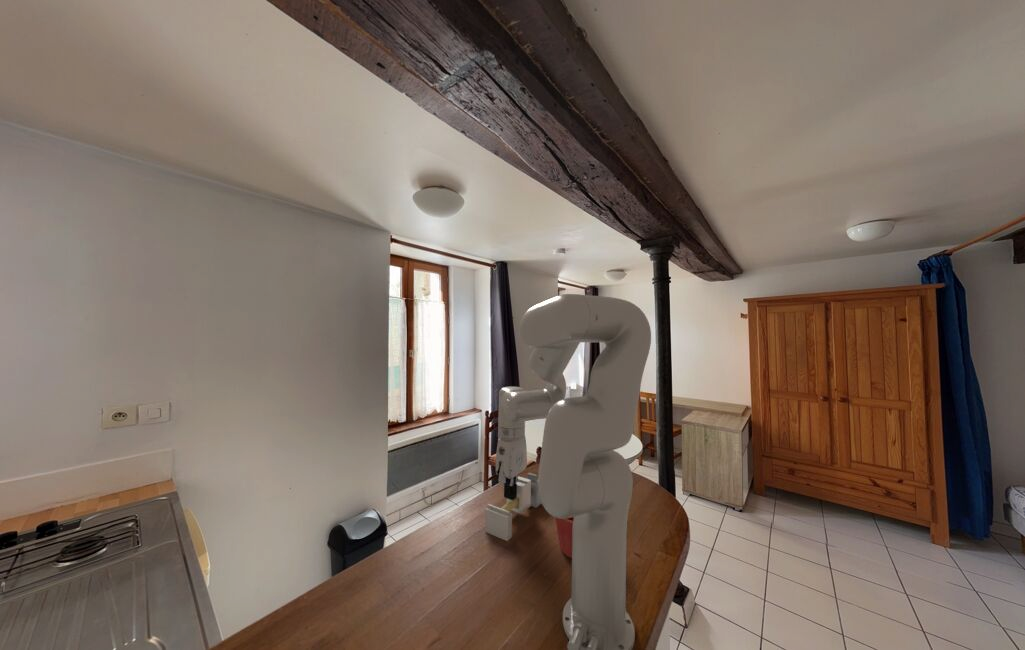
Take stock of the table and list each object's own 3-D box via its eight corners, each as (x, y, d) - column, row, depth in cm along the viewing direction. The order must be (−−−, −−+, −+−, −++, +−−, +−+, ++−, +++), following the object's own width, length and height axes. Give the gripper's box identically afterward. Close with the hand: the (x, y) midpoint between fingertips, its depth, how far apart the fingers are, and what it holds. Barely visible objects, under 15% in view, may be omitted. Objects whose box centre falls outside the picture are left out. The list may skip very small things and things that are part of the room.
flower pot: (547, 554, 76) (547, 513, 76) (562, 530, 86) (562, 493, 86) (591, 570, 71) (591, 526, 71) (601, 542, 81) (602, 504, 81)
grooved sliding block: (522, 514, 89) (522, 486, 89) (506, 508, 92) (507, 481, 92) (530, 506, 93) (530, 479, 93) (515, 500, 96) (515, 474, 96)
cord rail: (507, 541, 81) (508, 505, 81) (485, 531, 84) (486, 497, 85) (543, 504, 98) (544, 475, 99) (524, 498, 102) (524, 469, 102)
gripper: (508, 441, 81) (507, 514, 80) (535, 427, 93) (534, 490, 93) (484, 436, 85) (483, 505, 84) (513, 423, 97) (512, 483, 97)
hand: (510, 497), depth 88 cm, fingers closed
